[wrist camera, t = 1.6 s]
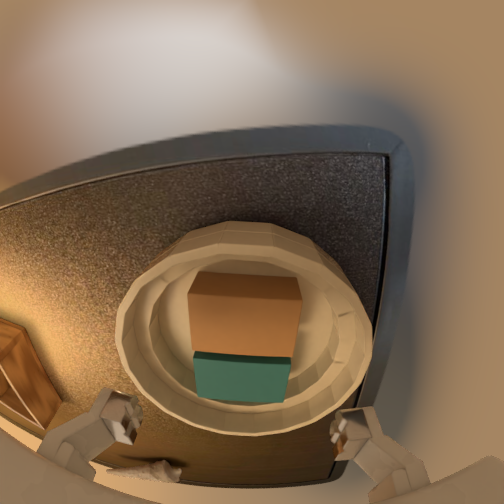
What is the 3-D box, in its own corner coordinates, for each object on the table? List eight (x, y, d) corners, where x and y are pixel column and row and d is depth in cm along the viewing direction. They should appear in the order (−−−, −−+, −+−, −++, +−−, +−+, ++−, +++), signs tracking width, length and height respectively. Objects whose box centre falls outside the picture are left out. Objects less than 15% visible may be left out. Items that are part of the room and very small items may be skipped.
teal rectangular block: (200, 331, 18) (192, 358, 15) (288, 336, 18) (291, 364, 15) (203, 370, 19) (197, 397, 17) (281, 375, 19) (283, 403, 17)
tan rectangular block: (197, 270, 16) (186, 293, 14) (297, 276, 16) (303, 300, 14) (200, 324, 18) (191, 350, 15) (289, 329, 18) (293, 357, 15)
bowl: (130, 214, 16) (92, 236, 12) (371, 228, 16) (404, 254, 11) (157, 383, 21) (143, 421, 17) (326, 394, 21) (335, 434, 17)
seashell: (180, 454, 29) (173, 466, 25) (189, 473, 28) (183, 486, 24) (103, 453, 28) (93, 462, 25) (113, 471, 27) (103, 481, 24)
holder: (-18, 309, 20) (-43, 331, 15) (24, 327, 20) (-4, 357, 15) (16, 379, 25) (-1, 401, 20) (62, 402, 25) (45, 430, 19)
